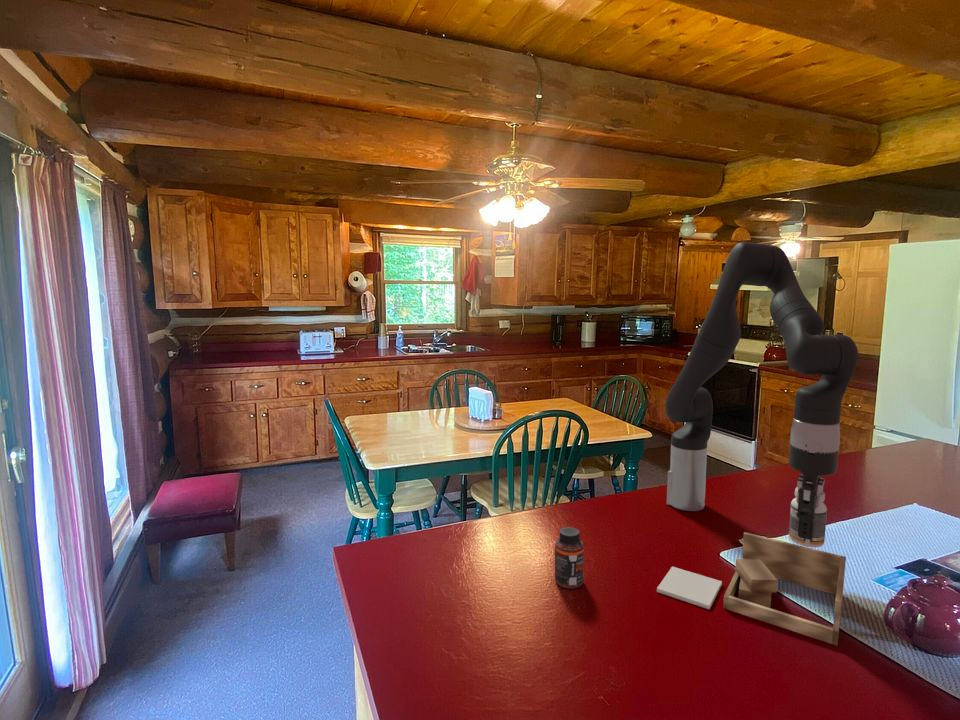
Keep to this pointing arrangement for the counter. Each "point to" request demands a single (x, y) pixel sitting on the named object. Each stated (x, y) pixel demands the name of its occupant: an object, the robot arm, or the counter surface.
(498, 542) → the counter surface
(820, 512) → the pill bottle
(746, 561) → the offcut block upper
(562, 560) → the supplement bottle
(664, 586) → the tile
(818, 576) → the wooden box frame
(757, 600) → the offcut block lower
